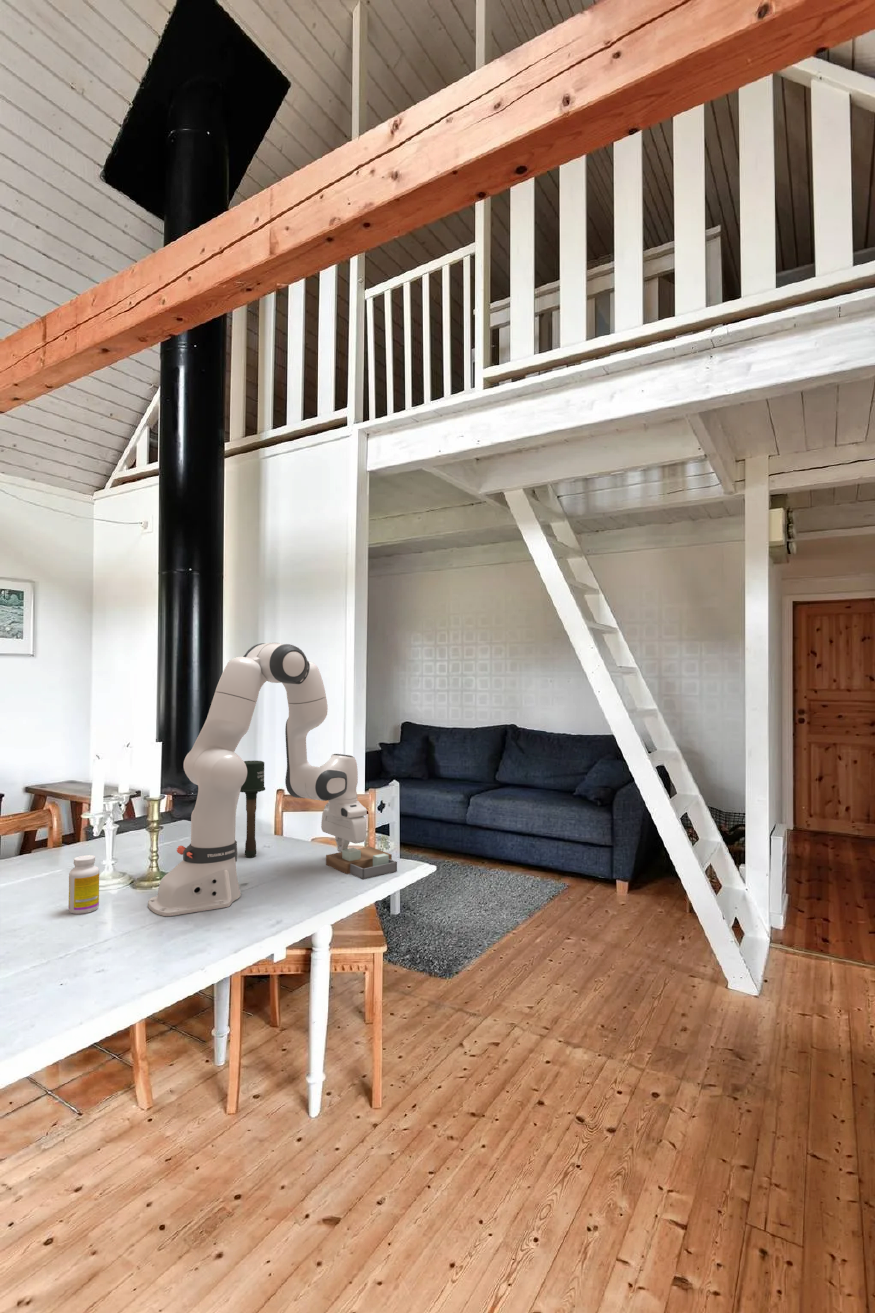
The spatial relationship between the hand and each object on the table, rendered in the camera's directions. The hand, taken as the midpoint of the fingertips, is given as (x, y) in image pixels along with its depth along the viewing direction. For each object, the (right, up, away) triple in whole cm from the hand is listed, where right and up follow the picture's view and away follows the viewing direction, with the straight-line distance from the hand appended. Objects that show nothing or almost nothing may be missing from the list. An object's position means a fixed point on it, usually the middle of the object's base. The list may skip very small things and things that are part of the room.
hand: (342, 852), depth 204 cm
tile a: (+3, -1, -4) cm, 5 cm away
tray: (+10, -4, -8) cm, 13 cm away
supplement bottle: (-58, -3, -40) cm, 70 cm away
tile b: (+11, -2, -4) cm, 12 cm away
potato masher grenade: (-30, -4, +8) cm, 32 cm away
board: (+5, -4, 0) cm, 6 cm away
